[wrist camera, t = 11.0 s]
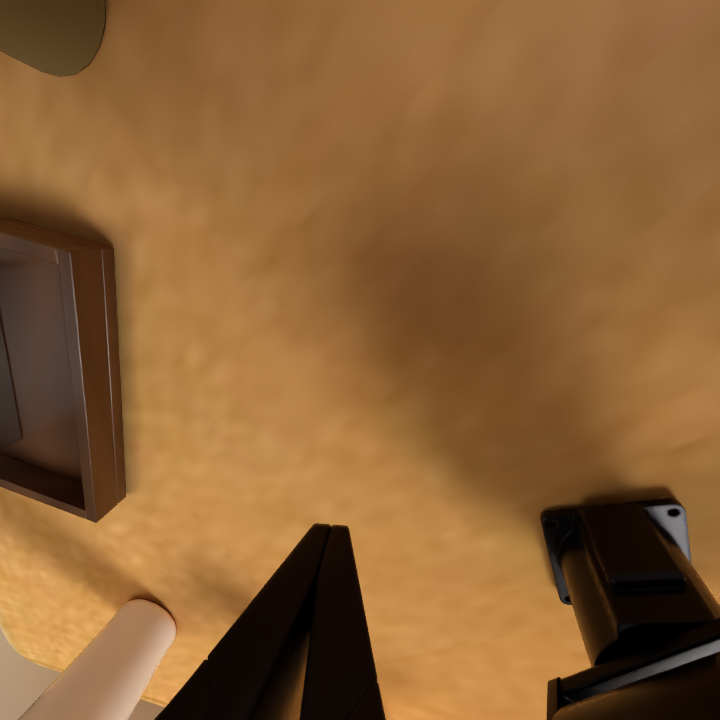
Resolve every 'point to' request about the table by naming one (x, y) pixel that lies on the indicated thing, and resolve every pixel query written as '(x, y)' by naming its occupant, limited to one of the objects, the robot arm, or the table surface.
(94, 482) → the tray
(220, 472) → the table surface
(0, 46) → the olive game pawn
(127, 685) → the drinking glass
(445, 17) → the table surface
